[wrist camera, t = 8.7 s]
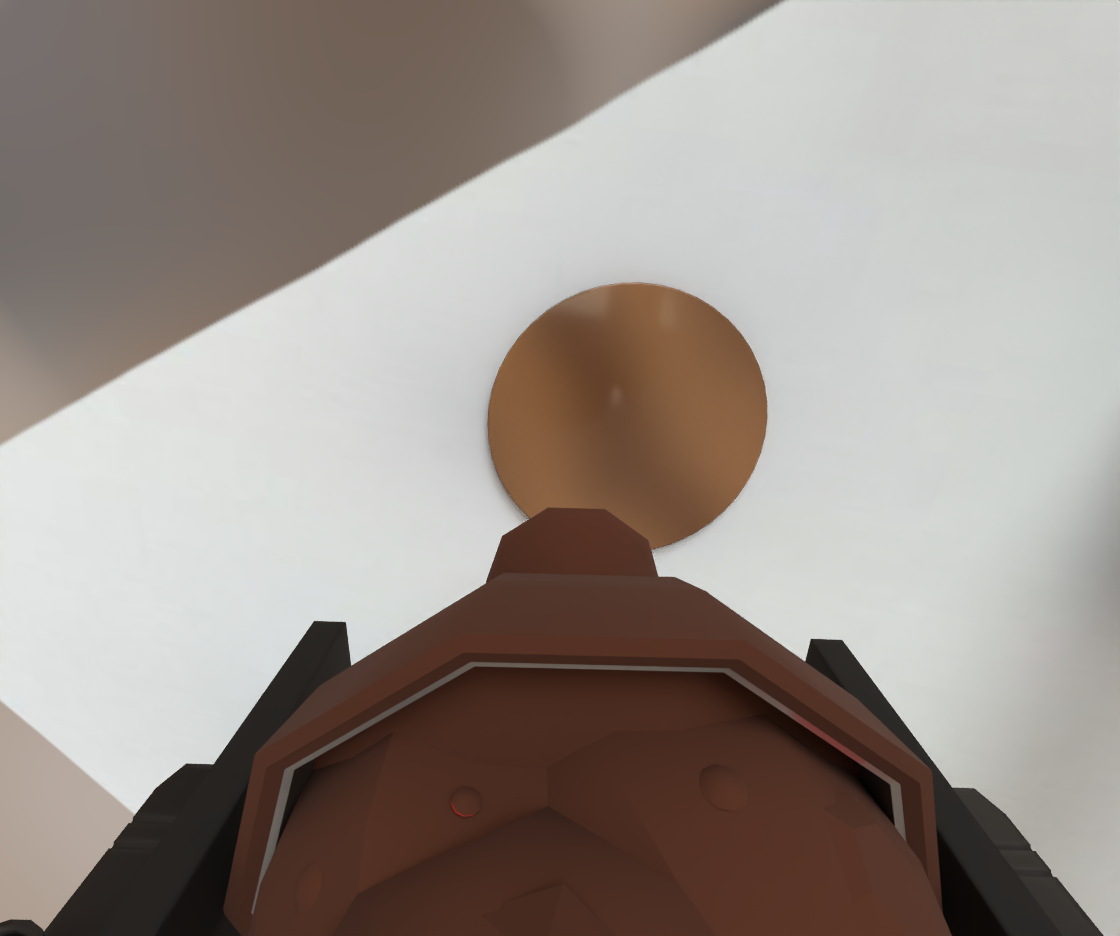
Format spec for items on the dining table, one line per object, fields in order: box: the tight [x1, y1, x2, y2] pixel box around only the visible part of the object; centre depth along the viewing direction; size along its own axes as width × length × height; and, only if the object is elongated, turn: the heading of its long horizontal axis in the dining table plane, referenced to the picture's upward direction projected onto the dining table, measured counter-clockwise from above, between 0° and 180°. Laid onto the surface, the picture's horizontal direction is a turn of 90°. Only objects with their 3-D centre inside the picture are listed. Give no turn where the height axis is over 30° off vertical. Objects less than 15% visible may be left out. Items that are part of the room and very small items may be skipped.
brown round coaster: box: [488, 282, 767, 549], centre depth 29 cm, size 15×15×1 cm
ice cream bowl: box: [223, 508, 952, 936], centre depth 10 cm, size 11×11×15 cm
